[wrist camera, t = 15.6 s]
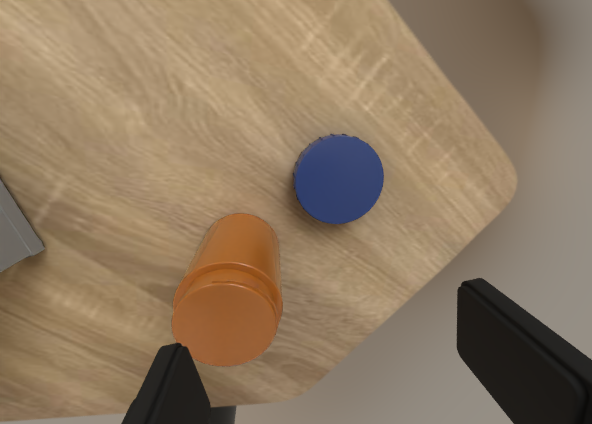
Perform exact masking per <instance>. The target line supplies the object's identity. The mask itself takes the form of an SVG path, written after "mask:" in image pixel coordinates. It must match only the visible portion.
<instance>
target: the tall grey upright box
mask: <svg viewBox="0 0 592 424" xmlns="http://www.w3.org/2000/svg"><path fill="white" fill-rule="evenodd" d="M44 249H45V248H44V246H43V243H42V241H41V240H40V239H39V238H38V237H37V236H36V234H35V232H34V231H33V229H32V228H31V226H30V225H29V223H28V222H27V220H26V218H25V217H24V215H23V214H22V212H21V211H20V209H19V208H18V206H17V204H16V203H15V201H14V200H13V198H12V197H11V195H10V194H9V192H8V190H7V189H6V187H5V186H4V184H3V183H2V181H1V180H0V272H2V271H3V270H5V269H7V268H9V267H10V266H12V265H14V264H15V263H17V262H19V261H21V260H22V259H24V258H27V257H31V256H34V255H36V254H37V253H39V252H41V251H42V250H44Z"/></svg>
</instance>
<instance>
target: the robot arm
mask: <svg viewBox="0 0 592 424" xmlns="http://www.w3.org/2000/svg"><path fill="white" fill-rule="evenodd" d="M457 296H458V297H457V298H458V299H457V350H458V353H459V355H460V357H461V358H462V360H463V361H464V362H465V363H466V365H467V366H468V367H469V368H470V370H471V371H472V372H473V373H474V375H475V376H476V377H477V378H478V380H479V381H480V382H481V383H482V385H483V386H484V387H485V388H486V390H487V391H488V392H489V393H490V395H492V397H493V398H494V400H495V401H496V402H497V403H498V404H499V406H500V407H501V408H502V409H503V411H504V412H505V413H506V414H507V416H508V417H509V418H510V419H511V421H512V422H513V423H514V424H592V360H591V359H590V358H588V357H587V356H586V355H584V354H583V353H582V352H580V351H579V350H578V349H576V348H575V347H574V346H572V345H571V344H570V343H568V342H567V341H566V340H564V339H563V338H562V337H560V336H559V335H557V334H556V333H555V332H554V331H552V330H551V329H550V328H548V327H547V326H546V325H544V324H543V323H542V322H540V321H539V320H538V319H536V318H535V317H534V316H532V315H531V314H530V313H528V312H527V311H526V310H524V309H523V308H521V307H520V306H519V305H518V304H516V303H515V302H514V301H512V300H511V299H509V298H508V297H507V296H505V295H504V294H503V293H501V292H500V291H499V290H498V289H496V288H495V287H493V286H492V285H491V284H489V283H488V282H487V281H485V280H484V279H482V278H477V279H473V280H468V281H464V282H462V284H461V287H459V288H458V295H457ZM210 411H211V408H210V402H209V399H208V396H207V394H206V391H205V389H204V386H203V384H202V381H201V379H200V377H199V374H198V372H197V369H196V367H195V364H194V362H193V359H192V357H191V354H190V352H189V349H188V347H187V346H182V344H181V343H175V344H170V345H166V346H162V347H161V348H160V349H159V351H158V353H157V355H156V357H155V359H154V361H153V363H152V365H151V368H150V370H149V372H148V374H147V376H146V378H145V380H144V382H143V384H142V387H141V389H140V391H139V393H138V395H137V397H136V399H134V400H133V402H132V404H131V405H130V407H129V409H128V411H127V413H126V416H125V418H124V420H123V422H122V424H208V423H209V418H210Z"/></svg>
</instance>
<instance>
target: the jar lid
mask: <svg viewBox="0 0 592 424" xmlns="http://www.w3.org/2000/svg"><path fill="white" fill-rule="evenodd" d="M293 176H294V184H293V186H294V189H295V191H296V196H297V199H298V200H299V202H300V203H301V205H302V207H303V209H305V210H306V212H307V213H308V214H310V215H311V216H312V217H314V218H316V219H317V220H320V221H322V222H325V223H331V224H342V223H347V222H351V221H353V220H356V219H358V218H360V217H361V216H363V215H364V214H365V213H367V212H368V211H369V210H370V209H371V208H372V207H373V205H374V204H375V203H376V201H377V199H378V198H379V195H380V193H381V190H382V187H383V178H384V174H383V167H382V164H381V161H380V159H379V157H378V155H377V153H376V152H375V151H374V150H373V149H372V148H371V147H370V146H369V144H367V143H365V142H363V141H361V140H359V138H357V137H350V136H347V135H346V134H342V135H333V134H330V135H329V136H325V137H322V138H321V137H319V139H318V140H316V141H314V142H313V143H311V144H309V146H308V147H307V148H306V149H305V150H304V151H303V152H301V155H300V157H299V159H298V161H297V162H296V166H295V170H294V173H293Z"/></svg>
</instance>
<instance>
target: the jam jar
mask: <svg viewBox="0 0 592 424" xmlns="http://www.w3.org/2000/svg"><path fill="white" fill-rule="evenodd" d="M282 310H283V302H282V286H281V270H280V254H279V242H278V238H277V236H276V234H275V232H274V230H273V229H272V228H271V226H270V225H269V224H267V223H266V222H265V221H264V220H262V219H260V218H258V217H256V216H253V215H249V214H232V215H228V216H225V217H223V218H221V219H219V220H218V221H216V222H215V223H214V224H213V225H212V226H211V227H210V228H209V230H208V232H207V233H206V235H205V237H204V239H203V241H202V243H201V245H200V246H199V248H198V250H197V252H196V254H195V256H194V258H193V259H192V261H191V263H190V265H189V267H188V269H187V271H186V273H185V274H184V276H183V278H182V280H181V282H180V284H179V286H178V288H177V290H176V292H175V295H174V299H173V311H174V313H173V316H172V332H173V336H174V338H175V340H176V342H177V343H181V344H182V346H187V347H188V349H189V352H190V354H191V357H192V358H193V359H195V360H197V361H200V362H202V363H205V364H209V365H214V366H235V365H240V364H243V363H246V362H249V361H251V360H253V359H255V358H257V357H258V356H260V355H261V354H262V353H263V352H264V351H265V350H266V349H267V348H268V347H269V345H270V344H271V342H272V340H273V339H274V336H275V335H276V331H277V328H278V323H279V321H280V319H281V316H282Z"/></svg>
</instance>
